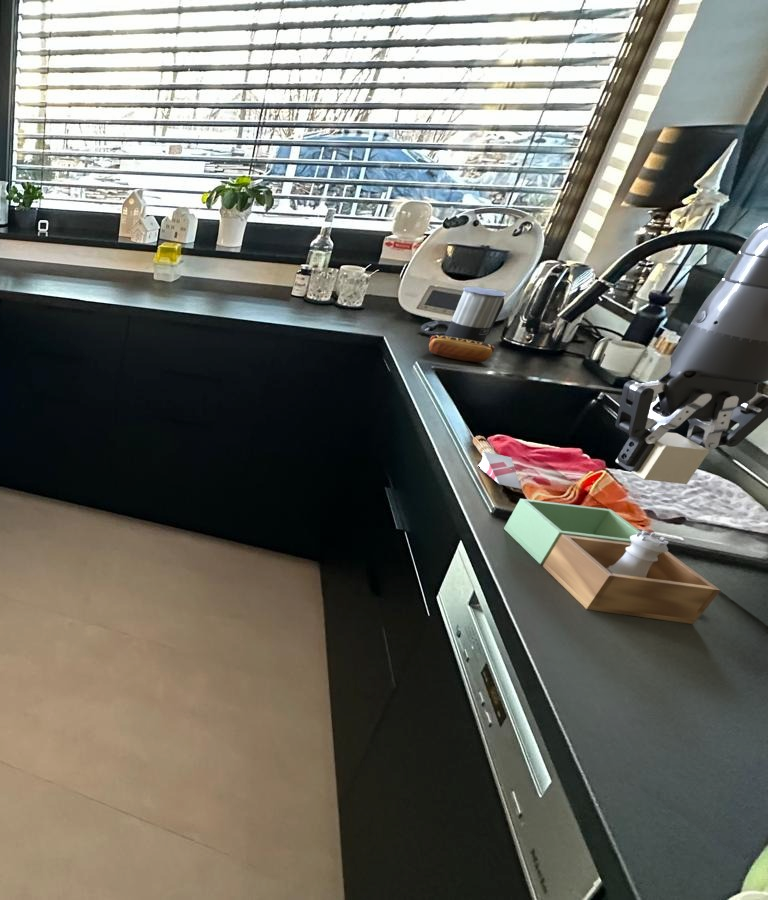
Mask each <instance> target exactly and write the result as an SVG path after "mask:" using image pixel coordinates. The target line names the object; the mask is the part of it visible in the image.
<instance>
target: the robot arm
mask: <svg viewBox="0 0 768 900" xmlns="http://www.w3.org/2000/svg"><path fill="white" fill-rule="evenodd" d="M669 359H670V368H669V369H668V371H667V372H665V373H664V374H663V375H661V376H659V378H658V379H657V380H655V381H649V382H639V381H637V380H633V379H632V380H628V381H627V382H625V383H624V385H623V388H622V392H621V397H620V402H619V405H618V411H617V415H616V419H615V425H614V426H615V427H616V428H617V429H619V430H621V431H623V432H625V433H626V434H628V435H629V436H628V439H627V441H626V442H625V444H624V445H623V447H622V449H621V451H619V454H618V455H617V458H618V459H617V458H616V459H617V460H618V463H617V464H618V465H619V466H620V467H622V468H623V469H624V470H626V471H627V472H631V471H634V472H637V471H639V470H640V468H641V467H642V465H643V464H644V462H645V460H646V459H647V457H648V456H649V454H650V453H651V451H652V450H653V448H654V447H655V444H653V443H655V442H657V441H658V440H659V439H660V438H661V437H662V436H663V435H664V434H665V433H666V432H669V431H670V430H674V429H678V428H679V427H680V426H681V425H682V424H683V423H684V422H686V420H687V421H688V423H689V426H688V429H687V434H686V438H687V439H689V440H691V441H693V442H695V443H697V444H699V445H700V446H702V447H704V448H706V449H708V450H710V451H712V450H715V449H717V448H718V447H721V446H726V447H728V448H733V447H736V446H738V445H739V444H740V443H742V442H743V441H744V440H745V439H746V438H747V437H748V436H749V435H750V434H752V433H753V432H754V431H755V430H756V429H758V427H760V426H761V425H762V424H763V423H764V422H766V420H768V395H767V394H764V393H761V392H758V387H759V384H761V383H766V382H768V222H766V223H763V224H762V225H759V226H758V227H757V228H755V229H754V230H753V231H752V232H751V234H750V235H749V236H748V237H747V239H746V240H745V241H744V242H743V244H742V246H741V247H740V249H739V251H738V252H737V253H736V255H735V257H734V258H733V260H732V262H731V263H730V265H729V267H728V268H727V269H726V271H725V273H724V274H723V278H721V279H720V281H719V283H717V285H716V286H715V287H714V289H713V290H712V291H711V292H710V293H709V295H707V297H706V298H705V300H704V302H703V303H702V304H701V306H700V308H699V309H698V311H697V312H696V314H695V316H694V318H693V319H692V320H691V323H690V324H689V326H688V328H687V329H686V331H685V332H684V334H683V336H682V337H681V339H680V341H679V342H678V344H677V346H676V347H675V349H674V351H673V352H672V354H671V355H670V358H669ZM663 412H664V413H665V414H668V416H665V415H663ZM654 424H655V425H654ZM737 424H738V426H737V427H736V428H735V429H733V430H732V431H731V432H729V431H730V430H731V429H732V428H734V426H736V425H737ZM652 426H653V427H652ZM649 430H650V431H649Z"/></svg>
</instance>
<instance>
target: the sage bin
mask: <svg viewBox="0 0 768 900" xmlns="http://www.w3.org/2000/svg"><path fill="white" fill-rule="evenodd" d="M503 529H504V530H505V532H506V533H508V535H510V536H511V538H513V540H515V541H516V543H518V544H519V545H520V546H521V547H522V548H523V549H524V550H525V551H526V552H527V554H529V555H530V556H531V557H532V558H533V559H534V560H535V561H536V562H537V563H538V564H539V565H542V566H543V565H544V563H545V561H546V560H547V558H548V556H549V555H550V553H551V551H552V550H553V548H554V547H555V545H556V543H557V542H558V540H559V538H560V537H561V535H570V536H578V537H586V538H594V539H602V540H609V541H617V542H625V543H631V540H630V536H633V535H636V534H638V532H639V531H640V529H638V528H637V527H635V526H634V525H633V524H631V523H630V522H629V521H627V520H626V519H625V518H623V517H622V516H621V515H619V514H618V513H616V512H615V511H614V510H612V509H611V508H602V507H596V506H595V507H594V506H586V505H579V504H578V505H577V504H569V503H561V502H552V501H544V500H536V499H528V498H519V500H518V502H517V503H516V506H515V507H514V509H513V511H512V513H511V515H510V516H509V518H508V520H507V522H506V524H505V525H504V527H503Z"/></svg>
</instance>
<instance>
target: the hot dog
mask: <svg viewBox="0 0 768 900" xmlns="http://www.w3.org/2000/svg"><path fill="white" fill-rule="evenodd" d="M428 349H429V352H430V353H432V354H434V355H436V356H440V357H444V358H447V359H453V360H458V361H463V362H464V361H465V362H470V363H471V362H472V363H473V362H474V363H484V362H486V361H487V360H489V359H490V358H491V357H492V356H493V352H494V351H495V346H494V345H493V344H490V343H485V342H484V343H483V342H478V341H473V340H467V339H461V338H456V337H449V336H439V335H434V336H431V337H430V338H429V342H428Z"/></svg>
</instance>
